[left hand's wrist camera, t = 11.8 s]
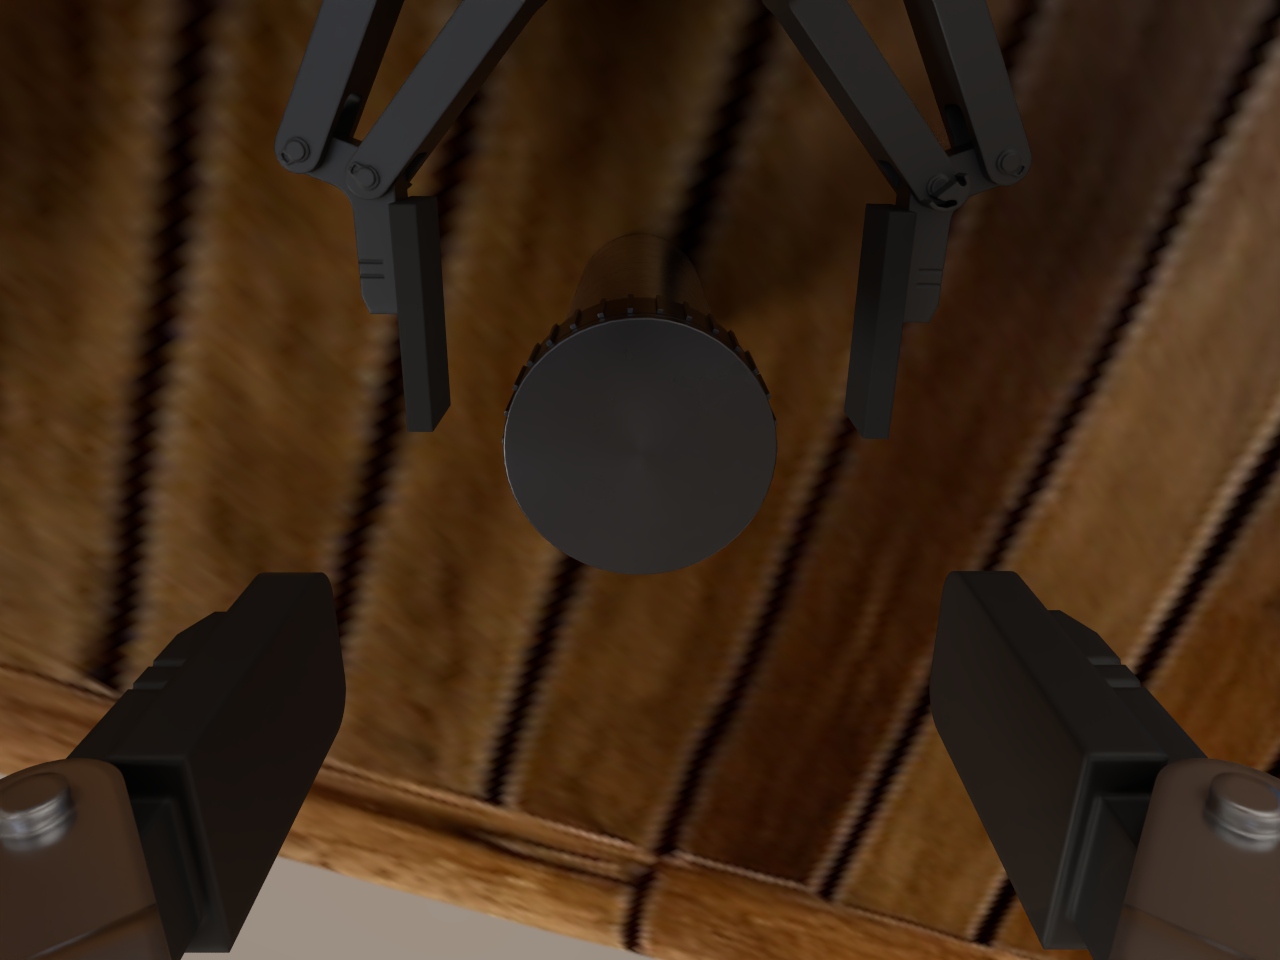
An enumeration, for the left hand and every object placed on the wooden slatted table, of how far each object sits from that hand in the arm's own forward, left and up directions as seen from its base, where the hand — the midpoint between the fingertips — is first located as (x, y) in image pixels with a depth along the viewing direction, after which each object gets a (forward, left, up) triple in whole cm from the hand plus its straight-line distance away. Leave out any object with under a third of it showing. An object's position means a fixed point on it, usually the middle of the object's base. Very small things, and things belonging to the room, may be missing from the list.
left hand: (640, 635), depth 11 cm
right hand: (+1, -2, -17) cm, 17 cm away
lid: (0, 0, -7) cm, 7 cm away
